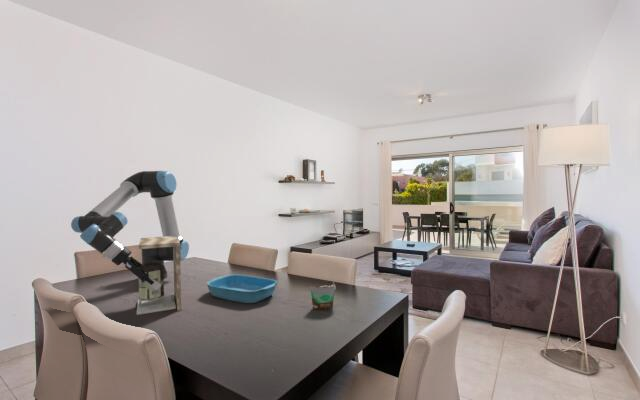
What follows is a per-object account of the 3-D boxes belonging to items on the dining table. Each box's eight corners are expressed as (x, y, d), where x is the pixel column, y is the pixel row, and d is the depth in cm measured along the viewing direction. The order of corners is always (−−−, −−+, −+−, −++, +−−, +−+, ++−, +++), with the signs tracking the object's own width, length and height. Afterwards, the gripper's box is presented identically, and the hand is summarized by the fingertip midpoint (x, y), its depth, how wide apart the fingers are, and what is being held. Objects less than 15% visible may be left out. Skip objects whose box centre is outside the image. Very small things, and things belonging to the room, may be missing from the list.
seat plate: (136, 314, 136) (136, 308, 136) (138, 301, 152) (138, 296, 152) (175, 308, 143) (175, 303, 143) (173, 296, 159) (173, 291, 159)
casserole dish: (197, 296, 160) (197, 282, 160) (230, 284, 179) (230, 272, 179) (256, 309, 142) (256, 293, 142) (285, 294, 162) (285, 280, 162)
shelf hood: (140, 316, 134) (138, 245, 133) (142, 299, 155) (140, 238, 154) (181, 310, 141) (179, 242, 140) (177, 294, 162) (176, 235, 162)
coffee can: (152, 292, 153) (151, 263, 152) (169, 295, 149) (168, 264, 149) (132, 300, 143) (132, 268, 143) (151, 302, 140) (150, 270, 139)
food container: (316, 313, 136) (315, 289, 136) (309, 308, 142) (309, 285, 142) (341, 308, 142) (341, 285, 142) (334, 303, 147) (334, 282, 147)
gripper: (113, 255, 149) (152, 284, 156) (106, 265, 129) (152, 298, 136) (126, 242, 151) (164, 272, 159) (122, 251, 131) (166, 284, 139)
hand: (158, 284), depth 147 cm, fingers closed on coffee can, 10 cm apart
